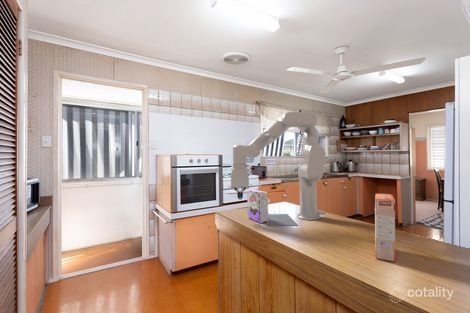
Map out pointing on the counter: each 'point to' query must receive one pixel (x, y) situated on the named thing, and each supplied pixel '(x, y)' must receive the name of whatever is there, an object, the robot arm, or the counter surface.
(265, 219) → the candy box
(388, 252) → the cracker box
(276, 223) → the mat
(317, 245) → the counter surface
